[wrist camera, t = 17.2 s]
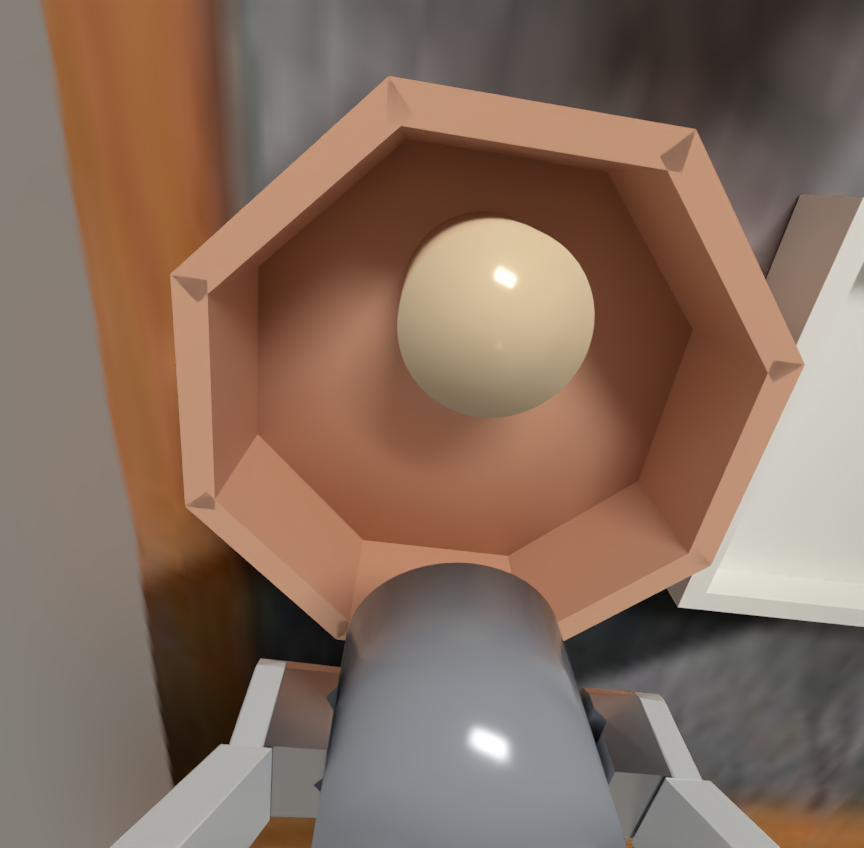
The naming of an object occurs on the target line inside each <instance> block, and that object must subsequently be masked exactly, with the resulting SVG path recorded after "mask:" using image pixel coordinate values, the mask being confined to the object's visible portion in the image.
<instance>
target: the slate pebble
mask: <svg viewBox="0 0 864 848" xmlns="http://www.w3.org/2000/svg"><path fill="white" fill-rule="evenodd" d="M311 848H626V841H625V838H624V834H623V831H622V828H621V825H620V821H619V818H618V815H617V812H616V808H615V805H614V802H613V799H612V796H611V792H610V789H609V786H608V783H607V780H606V776H605V773H604V770H603V767H602V763H601V760H600V757H599V754H598V751H597V747H596V744H595V741H594V738H593V734H592V731H591V728H590V725H589V722H588V718H587V715H586V712H585V709H584V706H583V702H582V699H581V696H580V693H579V689H578V686H577V683H576V680H575V677H574V673H573V670H572V667H571V664H570V660H569V657H568V654H567V651H566V648H565V644H564V641H563V638H562V635H561V632H560V628H559V625H558V622H557V619H556V616H555V614H554V612H553V610H552V608H551V606H550V605H549V603H548V602H547V601H546V599H545V598H544V597H543V596H542V595H541V594H540V593H539V592H538V591H537V590H536V589H535V588H534V587H532V586H531V585H530V584H528V583H527V582H526V581H524V580H522V579H520V578H519V577H517V576H515V575H513V574H511V573H508V572H506V571H503V570H501V569H497V568H493V567H490V566H486V565H480V564H473V563H440V564H434V565H427V566H423V567H420V568H416V569H412V570H410V571H407V572H404V573H402V574H399V575H397V576H395V577H393V578H391V579H390V580H388V581H386V582H384V583H383V584H382V585H380V586H379V587H377V588H376V589H374V590H373V591H372V592H371V593H370V594H369V595H368V596H367V597H366V598H365V599H364V600H363V601H362V602H361V604H360V605H359V606H358V607H357V609H356V611H355V612H354V614H353V616H352V618H351V620H350V623H349V625H348V628H347V633H346V638H345V645H344V651H343V657H342V663H341V674H340V682H339V689H338V695H337V702H336V708H335V712H334V715H333V722H332V732H331V739H330V745H329V751H328V757H327V763H326V769H325V775H324V777H323V779H322V786H321V792H320V798H319V804H318V810H317V816H316V822H315V828H314V835H313V841H312V847H311Z"/></svg>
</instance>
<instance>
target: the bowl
mask: <svg viewBox="0 0 864 848" xmlns="http://www.w3.org/2000/svg"><path fill="white" fill-rule="evenodd" d="M478 211H483V212H495V213H500V214H504V215H507V216H510V217H512V218H514V219H516V220H518V221H520V222H522V223H524V224H526V225H528V226H530V227H532V228H534V229H536V230H538V231H540V232H542V233H544V234H546V235H548V236H550V237H552V238H553V239H554V240H556V241H557V242H559V243H560V244H562V245H563V246H564V247H565V248H566V249H567V250H568V251H569V252H570V253H571V254H572V255H573V257H574V258H575V259H576V260H577V262H578V263H579V264H580V266H581V268H582V270H583V271H584V273H585V275H586V277H587V280H588V282H589V285H590V288H591V292H592V296H593V301H594V310H595V316H594V329H593V335H592V339H591V343H590V346H589V349H588V352H587V354H586V356H585V359H584V361H583V362H582V364H581V366H580V368H579V369H578V371H577V372H576V374H575V375H574V376H573V378H572V379H571V380H570V381H569V382H568V383H567V385H566V386H565V387H564V388H563V389H562V390H561V391H559V392H558V393H557V394H556V395H554V396H553V397H552V398H551V399H549V400H547V401H546V402H544V403H543V404H541V405H539V406H537V407H535V408H533V409H531V410H529V411H526V412H523V413H520V414H516V415H512V416H507V417H498V418H481V417H474V416H469V415H465V414H461V413H458V412H456V411H453V410H451V409H448V408H447V407H445V406H443V405H441V404H439V403H438V402H437V401H435V400H434V399H432V398H431V397H430V396H429V395H428V394H426V393H425V392H424V391H423V390H422V389H421V388H420V386H419V385H418V384H417V383H416V381H415V380H414V379H413V377H412V376H411V374H410V372H409V371H408V369H407V367H406V365H405V362H404V360H403V358H402V354H401V351H400V347H399V342H398V335H397V317H398V310H399V304H400V298H401V293H402V288H403V283H404V277H405V273H406V270H407V266H408V264H409V261H410V259H411V256H412V255H413V253H414V251H415V249H416V248H417V246H418V245H419V244H420V242H421V241H422V240H423V238H424V237H425V236H426V235H427V234H428V233H429V232H430V231H432V230H433V229H434V228H436V227H437V226H438V225H440V224H441V223H443V222H445V221H446V220H448V219H450V218H453V217H455V216H458V215H461V214H465V213H470V212H478ZM170 278H171V293H172V309H173V324H174V340H175V356H176V371H177V387H178V402H179V418H180V434H181V449H182V465H183V480H184V496H185V506H186V508H187V509H189V510H190V511H191V512H192V513H193V514H194V515H195V516H197V517H198V518H199V519H200V520H201V521H202V522H203V523H204V524H206V525H207V526H208V527H209V528H210V529H211V530H212V531H214V532H215V533H216V534H217V535H218V536H219V537H220V538H222V539H223V540H224V541H225V542H226V543H227V544H228V545H230V546H231V547H232V548H233V549H234V550H235V551H236V552H238V553H239V554H240V555H241V556H242V557H243V558H244V559H245V560H247V561H248V562H249V563H250V564H251V565H252V566H253V567H255V568H256V569H257V570H258V571H259V572H260V573H261V574H263V575H264V576H265V577H266V578H267V579H268V580H269V581H271V582H272V583H273V584H274V585H275V586H276V587H277V588H278V589H280V590H281V591H282V592H283V593H284V594H285V595H286V596H288V597H289V598H290V599H291V600H292V601H293V602H294V603H296V604H297V605H298V606H299V607H300V608H301V609H302V610H304V611H305V612H306V613H307V614H308V615H309V616H310V617H312V618H313V619H314V620H315V621H316V622H317V623H318V624H319V625H321V626H322V627H323V628H324V629H325V630H326V631H327V632H329V633H330V634H331V635H332V636H333V637H334V638H335V639H338V640H345V638H346V633H347V628H348V625H349V623H350V620H351V618H352V616H353V614H354V612H355V611H356V609H357V607H358V606H359V605H360V604H361V602H362V601H363V600H364V599H365V598H366V597H367V596H368V595H369V594H370V593H371V592H372V591H373V590H374V589H376V588H377V587H379V586H380V585H382V584H383V583H384V582H386V581H388V580H390V579H391V578H393V577H395V576H397V575H399V574H402V573H404V572H407V571H410V570H412V569H416V568H420V567H423V566H427V565H434V564H440V563H473V564H480V565H486V566H490V567H493V568H497V569H501V570H503V571H506V572H508V573H511V574H513V575H515V576H517V577H519V578H520V579H522V580H524V581H526V582H527V583H528V584H530V585H531V586H532V587H534V588H535V589H536V590H537V591H538V592H539V593H540V594H541V595H542V596H543V597H544V598H545V599H546V601H547V602H548V603H549V605H550V606H551V608H552V610H553V612H554V614H555V616H556V619H557V622H558V625H559V628H560V632H561V635H562V638H563V641H565V640H567V639H569V638H571V637H573V636H574V635H576V634H578V633H580V632H582V631H584V630H586V629H588V628H590V627H592V626H594V625H596V624H598V623H600V622H602V621H604V620H606V619H608V618H610V617H611V616H613V615H615V614H617V613H619V612H621V611H623V610H625V609H627V608H629V607H631V606H633V605H635V604H637V603H639V602H641V601H643V600H645V599H647V598H648V597H650V596H652V595H654V594H656V593H658V592H660V591H662V590H664V589H666V588H668V587H670V586H672V585H674V584H676V583H678V582H680V581H682V580H684V579H685V578H687V577H689V576H691V575H693V574H695V573H697V572H699V571H701V570H703V569H705V568H707V567H709V566H711V564H712V562H713V560H714V558H715V556H716V554H717V551H718V549H719V547H720V545H721V543H722V541H723V539H724V536H725V534H726V532H727V530H728V528H729V526H730V524H731V521H732V519H733V517H734V515H735V513H736V511H737V509H738V506H739V504H740V502H741V500H742V498H743V496H744V494H745V492H746V489H747V487H748V485H749V483H750V481H751V479H752V477H753V474H754V472H755V470H756V468H757V466H758V464H759V462H760V459H761V457H762V455H763V453H764V451H765V449H766V447H767V444H768V442H769V440H770V438H771V436H772V434H773V432H774V429H775V427H776V425H777V423H778V421H779V419H780V417H781V415H782V412H783V410H784V408H785V406H786V404H787V402H788V400H789V397H790V395H791V393H792V391H793V389H794V387H795V385H796V382H797V380H798V378H799V376H800V374H801V372H802V370H803V367H804V362H803V359H802V357H801V355H800V353H799V351H798V349H797V346H796V344H795V342H794V340H793V338H792V336H791V333H790V331H789V329H788V327H787V325H786V323H785V320H784V318H783V316H782V314H781V312H780V310H779V307H778V305H777V303H776V301H775V299H774V297H773V294H772V292H771V290H770V288H769V286H768V284H767V281H766V279H765V277H764V275H763V273H762V271H761V268H760V266H759V264H758V262H757V260H756V258H755V256H754V253H753V251H752V249H751V247H750V245H749V243H748V240H747V238H746V236H745V234H744V232H743V230H742V227H741V225H740V223H739V221H738V219H737V217H736V214H735V212H734V210H733V208H732V206H731V204H730V201H729V199H728V197H727V195H726V193H725V191H724V188H723V186H722V184H721V182H720V180H719V178H718V175H717V173H716V171H715V169H714V167H713V165H712V163H711V160H710V158H709V156H708V154H707V152H706V150H705V147H704V145H703V143H702V141H701V139H700V137H699V134H698V132H697V130H696V129H692V128H686V127H681V126H675V125H669V124H663V123H657V122H652V121H646V120H640V119H634V118H629V117H623V116H617V115H611V114H605V113H600V112H594V111H588V110H582V109H577V108H571V107H565V106H559V105H553V104H548V103H542V102H536V101H530V100H525V99H519V98H513V97H507V96H502V95H496V94H490V93H484V92H478V91H473V90H467V89H461V88H455V87H450V86H444V85H438V84H432V83H426V82H421V81H415V80H409V79H403V78H398V77H392V76H388V77H387V78H386V79H385V80H384V81H383V82H382V83H381V84H379V85H378V86H377V87H376V88H375V89H374V90H373V91H372V92H371V93H370V94H368V95H367V96H366V97H365V98H364V99H363V100H362V101H361V102H360V103H359V104H357V105H356V106H355V107H354V108H353V109H352V110H351V111H350V112H349V113H348V114H346V115H345V116H344V117H343V118H342V119H341V120H340V121H339V122H338V123H336V124H335V125H334V126H333V127H332V128H331V129H330V130H329V131H328V132H327V133H325V134H324V135H323V136H322V137H321V138H320V139H319V140H318V141H317V142H316V143H314V144H313V145H312V146H311V147H310V148H309V149H308V150H307V151H306V152H305V153H303V154H302V155H301V156H300V157H299V158H298V159H297V160H296V161H295V162H293V163H292V164H291V165H290V166H289V167H288V168H287V169H286V170H285V171H284V172H282V173H281V174H280V175H279V176H278V177H277V178H276V179H275V180H274V181H273V182H271V183H270V184H269V185H268V186H267V187H266V188H265V189H264V190H263V191H262V192H260V193H259V194H258V195H257V196H256V197H255V198H254V199H253V200H252V201H250V202H249V203H248V204H247V205H246V206H245V207H244V208H243V209H242V210H241V211H239V212H238V213H237V214H236V215H235V216H234V217H233V218H232V219H231V220H230V221H228V222H227V223H226V224H225V225H224V226H223V227H222V228H221V229H220V230H219V231H217V232H216V233H215V234H214V235H213V236H212V237H211V238H210V239H209V240H207V241H206V242H205V243H204V244H203V245H202V246H201V247H200V248H199V249H198V250H196V251H195V252H194V253H193V254H192V255H191V256H190V257H189V258H188V259H187V260H185V261H184V262H183V263H182V264H181V265H180V266H179V267H178V268H177V269H175V270H174V271H173V272H172V273H171V274H170Z"/></svg>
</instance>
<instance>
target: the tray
mask: <svg viewBox="0 0 864 848" xmlns="http://www.w3.org/2000/svg"><path fill="white" fill-rule="evenodd" d="M766 281H767V284H768V286H769V288H770V290H771V292H772V294H773V297H774V299H775V301H776V303H777V305H778V307H779V310H780V312H781V314H782V316H783V318H784V320H785V323H786V325H787V327H788V329H789V331H790V333H791V336H792V338H793V340H794V342H795V344H796V346H797V349H798V351H799V353H800V355H801V357H802V359H803V362H804V367H803V370H802V372H801V374H800V376H799V378H798V380H797V382H796V385H795V387H794V389H793V391H792V393H791V395H790V397H789V400H788V402H787V404H786V406H785V408H784V410H783V412H782V415H781V417H780V419H779V421H778V423H777V425H776V427H775V429H774V432H773V434H772V436H771V438H770V440H769V442H768V444H767V447H766V449H765V451H764V453H763V455H762V457H761V459H760V462H759V464H758V466H757V468H756V470H755V472H754V474H753V477H752V479H751V481H750V483H749V485H748V487H747V489H746V492H745V494H744V496H743V498H742V500H741V502H740V504H739V506H738V509H737V511H736V513H735V515H734V517H733V519H732V521H731V524H730V526H729V528H728V530H727V532H726V534H725V536H724V539H723V541H722V543H721V545H720V547H719V549H718V551H717V554H716V556H715V558H714V560H713V562H712V564H711V566H709V567H707V568H705V569H703V570H701V571H699V572H697V573H695V574H693V575H691V576H689V577H687V578H685V579H684V580H682V581H680V582H678V583H676V584H674V585H672V586H670V587H668V588H667V590H668V592H669V593H670V595H671V597H672V599H673V600H674V602H675V604H676V605H677V607H680V608H689V609H699V610H708V611H718V612H727V613H737V614H746V615H756V616H765V617H775V618H784V619H794V620H803V621H812V622H822V623H831V624H841V625H850V626H860V627H864V197H844V196H822V195H801V194H800V196H799V199H798V201H797V204H796V206H795V209H794V211H793V214H792V216H791V219H790V221H789V224H788V226H787V229H786V231H785V233H784V236H783V238H782V241H781V243H780V246H779V248H778V251H777V253H776V256H775V258H774V261H773V263H772V266H771V268H770V270H769V273H768V275H767V278H766Z"/></svg>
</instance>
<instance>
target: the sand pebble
mask: <svg viewBox="0 0 864 848" xmlns="http://www.w3.org/2000/svg"><path fill="white" fill-rule="evenodd" d="M594 316H595V310H594V301H593V296H592V292H591V288H590V285H589V282H588V280H587V277H586V275H585V273H584V271H583V270H582V268H581V266H580V264H579V263H578V262H577V260H576V259H575V258H574V257H573V255H572V254H571V253H570V252H569V251H568V250H567V249H566V248H565V247H564V246H563V245H562V244H560V243H559V242H557V241H556V240H554V239H553V238H552V237H550V236H548V235H546V234H544V233H542V232H540V231H538V230H536V229H534V228H532V227H530V226H528V225H526V224H524V223H522V222H520V221H518V220H516V219H514V218H512V217H510V216H507V215H504V214H500V213H495V212H483V211H478V212H470V213H465V214H461V215H458V216H455V217H453V218H450V219H448V220H446V221H445V222H443V223H441V224H440V225H438V226H437V227H436V228H434V229H433V230H432V231H430V232H429V233H428V234H427V235H426V236H425V237H424V238H423V240H422V241H421V242H420V244H419V245H418V246H417V248H416V249H415V251H414V253H413V255H412V256H411V259H410V261H409V264H408V266H407V270H406V273H405V277H404V283H403V288H402V293H401V298H400V304H399V310H398V317H397V335H398V342H399V347H400V351H401V354H402V358H403V360H404V362H405V365H406V367H407V369H408V371H409V372H410V374H411V376H412V377H413V379H414V380H415V381H416V383H417V384H418V385H419V386H420V388H421V389H422V390H423V391H424V392H425V393H426V394H428V395H429V396H430V397H431V398H432V399H434V400H435V401H437V402H438V403H439V404H441V405H443V406H445V407H447V408H448V409H451V410H453V411H456V412H458V413H461V414H465V415H469V416H474V417H481V418H498V417H507V416H512V415H516V414H520V413H523V412H526V411H529V410H531V409H533V408H535V407H537V406H539V405H541V404H543V403H544V402H546V401H547V400H549V399H551V398H552V397H553V396H554V395H556V394H557V393H558V392H559V391H561V390H562V389H563V388H564V387H565V386H566V385H567V383H568V382H569V381H570V380H571V379H572V378H573V376H574V375H575V374H576V372H577V371H578V369H579V368H580V366H581V364H582V362H583V361H584V359H585V356H586V354H587V352H588V349H589V346H590V343H591V339H592V335H593V329H594Z"/></svg>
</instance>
